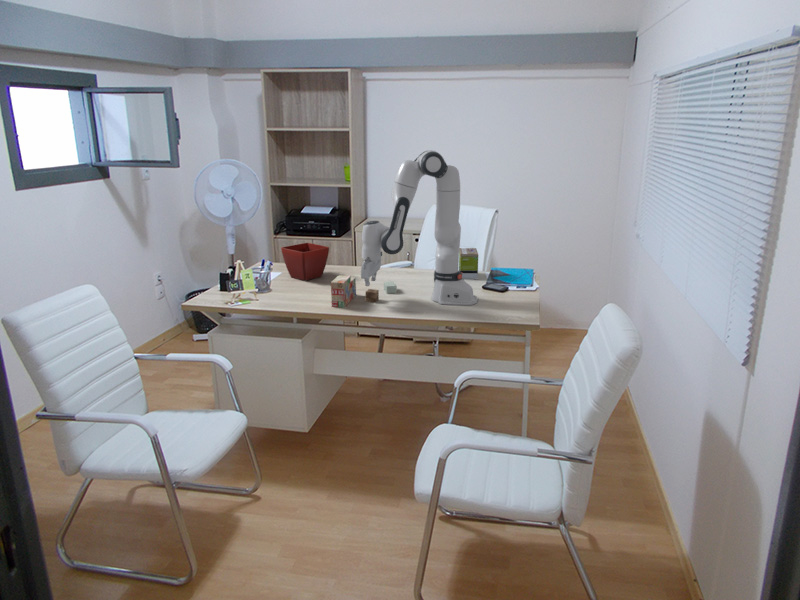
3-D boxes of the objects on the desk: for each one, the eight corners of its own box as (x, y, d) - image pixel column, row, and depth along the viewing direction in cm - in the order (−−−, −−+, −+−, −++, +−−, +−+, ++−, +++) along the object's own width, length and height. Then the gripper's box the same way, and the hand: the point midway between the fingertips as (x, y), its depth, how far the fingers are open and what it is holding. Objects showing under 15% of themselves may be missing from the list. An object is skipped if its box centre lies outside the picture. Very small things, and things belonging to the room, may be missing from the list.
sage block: (393, 289, 306) (393, 281, 304) (396, 293, 298) (396, 285, 297) (383, 289, 305) (383, 282, 303) (386, 294, 297) (386, 286, 296)
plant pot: (308, 270, 340) (307, 242, 335) (331, 276, 328) (330, 246, 323) (281, 277, 326) (280, 247, 321) (304, 283, 314) (303, 252, 309)
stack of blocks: (344, 294, 296) (343, 270, 292) (356, 294, 295) (355, 271, 291) (331, 307, 276) (330, 281, 272) (344, 307, 275) (343, 282, 271)
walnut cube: (378, 299, 287) (378, 289, 286) (375, 302, 283) (375, 292, 281) (368, 298, 289) (368, 289, 287) (365, 301, 284) (365, 291, 282)
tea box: (458, 272, 338) (458, 247, 333) (475, 273, 337) (476, 247, 333) (459, 279, 323) (460, 253, 319) (477, 280, 323) (479, 253, 318)
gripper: (370, 260, 269) (370, 289, 273) (383, 251, 287) (382, 278, 292) (357, 259, 270) (357, 288, 274) (371, 250, 289) (370, 277, 293)
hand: (370, 283), depth 283 cm, fingers open, 8 cm apart
